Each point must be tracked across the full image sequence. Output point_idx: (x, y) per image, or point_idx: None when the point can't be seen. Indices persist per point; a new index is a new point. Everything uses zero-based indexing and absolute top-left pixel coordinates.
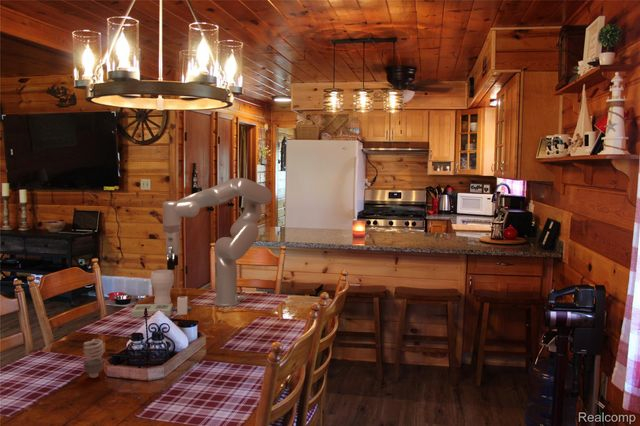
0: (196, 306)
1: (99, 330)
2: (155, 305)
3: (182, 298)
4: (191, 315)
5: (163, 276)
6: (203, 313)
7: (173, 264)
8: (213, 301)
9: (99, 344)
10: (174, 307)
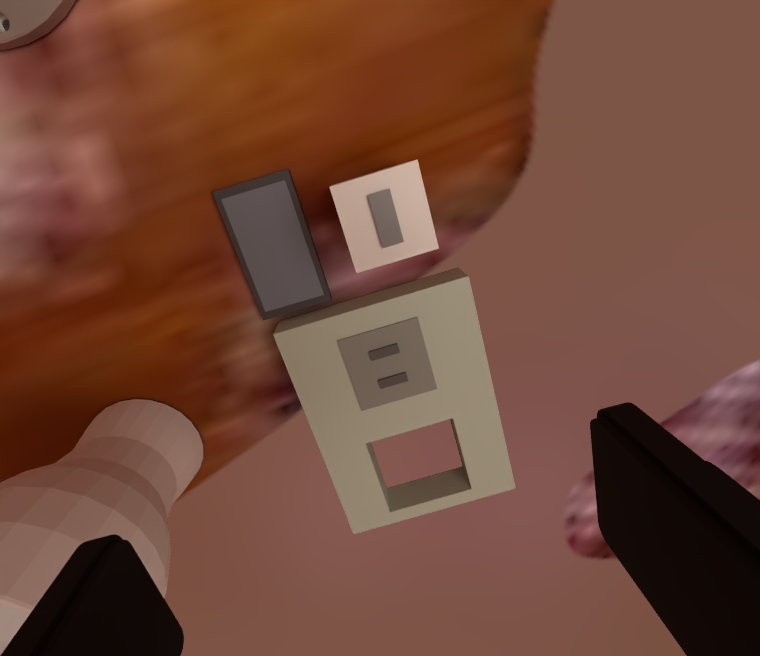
0: (165, 172)
1: None
2: (354, 422)
3: (413, 207)
4: (423, 115)
5: None
6: (353, 30)
7: (723, 508)
8: (17, 31)
9: None
10: (277, 312)
